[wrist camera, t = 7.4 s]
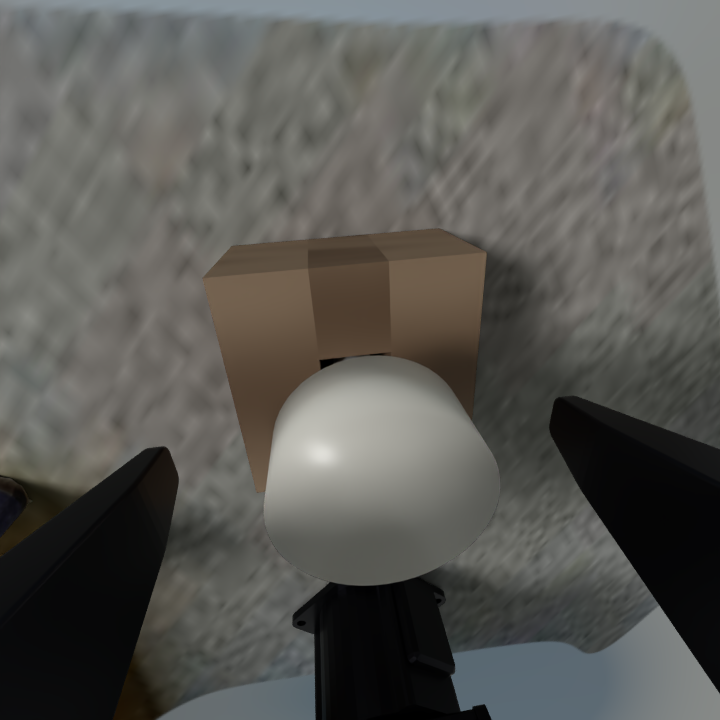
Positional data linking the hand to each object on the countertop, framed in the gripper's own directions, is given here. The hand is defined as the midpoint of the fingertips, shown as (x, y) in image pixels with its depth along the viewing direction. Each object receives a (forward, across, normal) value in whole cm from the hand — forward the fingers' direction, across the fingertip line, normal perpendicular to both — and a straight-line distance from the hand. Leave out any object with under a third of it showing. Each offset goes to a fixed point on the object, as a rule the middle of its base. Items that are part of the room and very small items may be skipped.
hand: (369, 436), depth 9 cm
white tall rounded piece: (+6, 0, 0) cm, 6 cm away
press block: (+6, 0, 0) cm, 6 cm away
